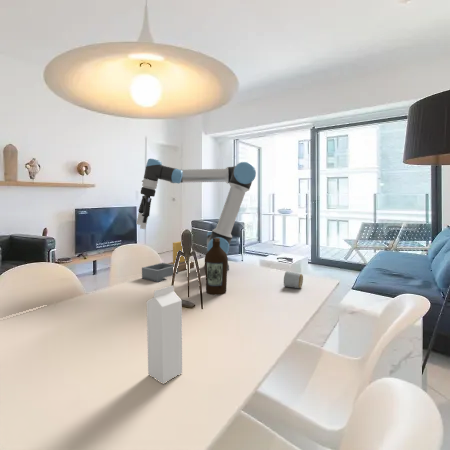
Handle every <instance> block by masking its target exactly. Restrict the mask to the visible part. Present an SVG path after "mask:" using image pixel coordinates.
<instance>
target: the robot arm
mask: <svg viewBox="0 0 450 450" xmlns="http://www.w3.org/2000/svg"><path fill="white" fill-rule="evenodd" d="M146 162H147V163H146V165H145V169H144V174H143V180H141V182H142V187H141V188H140V194H141V195H142V198H141V199H140V200H141V201H140V204H139V208H138V214H137V218H136V219H137V220H136V225H138V226H140V227H139V229H140V230H142V229H143V230H146V228H147V223H148V219H149V217H150V212H151V205H152V197H155V195H156V190H157V187H158V183H159V180H162V181H166V182H170V184H181V183H183V184H184V183H226V184H228V185H229V186H230V188H229V190H228V194H227V196H226V200H225V202H224V204H223V207H222V211H221V213H220V216H219V219H218V221H217V224H216V227H215V228H213V229H212V230H211V231H208V232H207V233H206V253H207V252H208V251H209V250H210V249H211V248H212V246H213V238H220V247H221V248H222V249H223V251H224V252H225V253H226V254H227V255H228V253H229V250H230V245H231V242H232V240H233V239H232V238H233V235H232V231H233V228H234V225H235V222H236V219H237V217H238V214H239V211H240V209H241V206H242V203H243V200H244V197H245V194H246V193H247V192H248V191H250V189H251V186H252V183H253V181H254V180H255V178H256V175H257V172H256V168H255V166H254V165H253V164H252V163H251V162H248V161H241V162H238V163H237V164H236V165H235V166H234V165H233V166H226V167H225V168H203V169H202V168H196V169H195V168H194V169H193V168H192V169H191V168H190V169H189V168H187V169H179V168H175V167H170V166H167V165H162V164H163V163H162V161H161V160H159V159H154V158H148V159H147V161H146ZM203 268H204V269H205V264H204V265H203ZM229 270H230V265H229V264H228V266H227V272H228V271H229Z"/></svg>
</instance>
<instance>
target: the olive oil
mask: <svg viewBox="0 0 450 450" xmlns="http://www.w3.org/2000/svg"><path fill="white" fill-rule="evenodd" d="M204 265H205V268H204V272H205V273H204V274H205V293H206V294H209V295H212V296H219V295H221V296H222V295H224V294H226V293H227V281H228V280H227V279H228V271H227V266H228V265H229V258H228V253H227V254H226V253H225V252H224V251H223V249H222V248H221V247H220V238H213V246H212V248H211V249H210V250H209V251H208V252H207V251H206V254H205V256H204Z"/></svg>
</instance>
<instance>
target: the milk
mask: <svg viewBox="0 0 450 450" xmlns="http://www.w3.org/2000/svg"><path fill="white" fill-rule="evenodd" d="M182 302H183V301H182V299H181V298H180V296H178V295H177V293H176V292H175V286H174V285H168V286H166V287H161V288H160V289H156V290H154V291H153V297H152V298H150V299H148V300H147V301H146V327H147V329H146V331H147V333H146V334H147V339H146V340H147V373H148V374H149V375H151V376H152V377H154V378H156V379H157V380H159V381H160V382H162V383H165V382H166V381H169V380H170V379H172V378H173V377H175V376H177V375H179V374H181V373H182V374H183V331H182V330H183V329H182V328H183V324H182V323H183V320H182V319H183V317H182V316H183V314H182V313H183V311H182V310H183V308H182V305H183V304H182ZM182 374H181V375H182ZM149 375H148V376H149ZM179 376H180V375H179ZM152 377H151V378H152ZM177 377H178V376H177ZM157 380H156V381H157ZM172 380H173V379H172ZM160 382H159V383H160ZM169 382H170V381H169Z"/></svg>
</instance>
